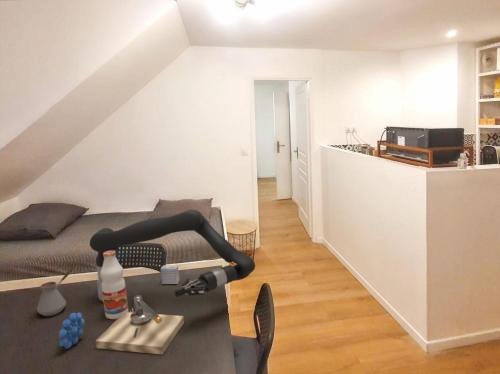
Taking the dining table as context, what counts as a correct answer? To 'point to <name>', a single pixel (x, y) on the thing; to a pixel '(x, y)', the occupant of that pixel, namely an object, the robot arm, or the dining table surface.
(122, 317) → the stand
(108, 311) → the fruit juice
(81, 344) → the dining table surface
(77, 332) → the grapes
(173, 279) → the medicine box
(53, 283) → the coffee pot
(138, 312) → the metal faucet
